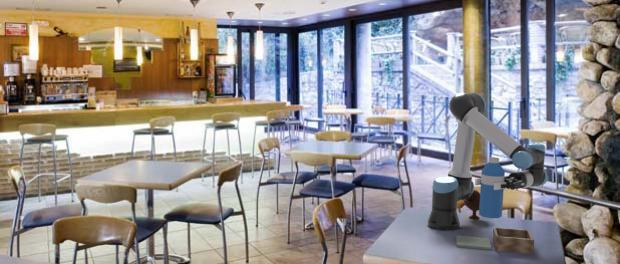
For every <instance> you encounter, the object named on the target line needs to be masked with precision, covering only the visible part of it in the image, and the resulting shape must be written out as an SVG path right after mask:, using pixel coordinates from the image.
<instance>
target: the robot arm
mask: <svg viewBox="0 0 620 264" xmlns="http://www.w3.org/2000/svg"><path fill="white" fill-rule="evenodd" d="M448 108H449V111H450V112H451V114H452V115H453V117H455V120H456V121H457V123H458V124H457V131H456V138H455V144H454V152H453V153H454V154H453V160H452V167H451V170H449V171H448V173H447V176H439V177H437V178H435V179H434V180H433V182H432V187H431V188H432V194H431V202H432V203H431V211H430V214H429V217H428V219H427V226H428V227H429V226H430V228H431V227H432V228H431V229H435V230H439V231H455V230H458V229H460V228H461V227H460V226H461V222H460V219H459V215H458V212H457V209H458V208H457V207H458V202H460V201H464V200H465V199H466V198H468V197H470V196H471V195H472V193H473V191H474V190H475V186H481V177H480V178H474V180H475V181H473V174H472V173H471V172H470V171H471V166H472V165H471V164H472V158H473V151H474V145H475V137H476V132H477V133H478V134H479V135H480V136H481V137H483V138H484V139H485V140H487V142H489V143H491V144H492V145H493V146H494V147H495V148H497V149H498V150H499V151H500V152H501V153H503V154H504V155H506V157H508V158H509V159H510V160H511V161H512V164H513V166H514V167H515V168H517V169H519V171H513V172H510V173H509V175H505V176H504V182H500V183H494V190H499V189H504V190H505V189H508V190H509V189H510V190H519V189H523V190H525V188H533V187H535V188H536V187H540V186H543V185H545V184H546V183H548V180H549V176H548V173H547V171H546V170H545V168H544V167H545V156H546V146H545V144H543V143H534V142H532V143H531V142H530V143H528V144H527V146H526V147H524V146H523V145H522V144H521V143H520V142H518V141H517V140H516V139H514V137H512V136H510V134H508V133H507V132H505V131H504V130H503V129H502V128H500V127H499V126H497V124H495V123H494V122H493V121H491V120H490V119H489V118H488V117H486V116H485V115H483V114H484V113H485V111H486V109H487V103H486V100H485V98H484V97H483V96H482V95H481V94H480V93H477V92H460V93H456V94H455V95H453V96H452V98H451V99H450V101H449V107H448ZM522 169H524V170H522Z"/></svg>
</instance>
